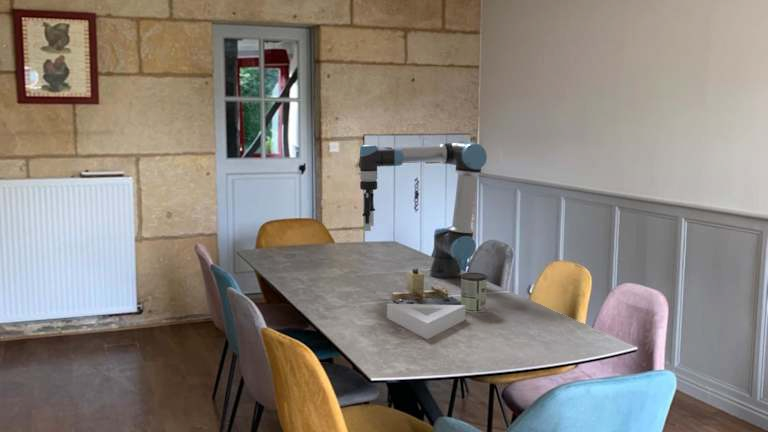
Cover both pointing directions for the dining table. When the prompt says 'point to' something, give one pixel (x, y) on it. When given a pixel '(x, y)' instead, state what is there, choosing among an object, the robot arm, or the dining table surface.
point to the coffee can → (473, 292)
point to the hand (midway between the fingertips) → (369, 228)
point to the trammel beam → (433, 293)
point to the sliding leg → (416, 282)
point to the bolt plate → (431, 301)
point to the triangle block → (426, 317)
